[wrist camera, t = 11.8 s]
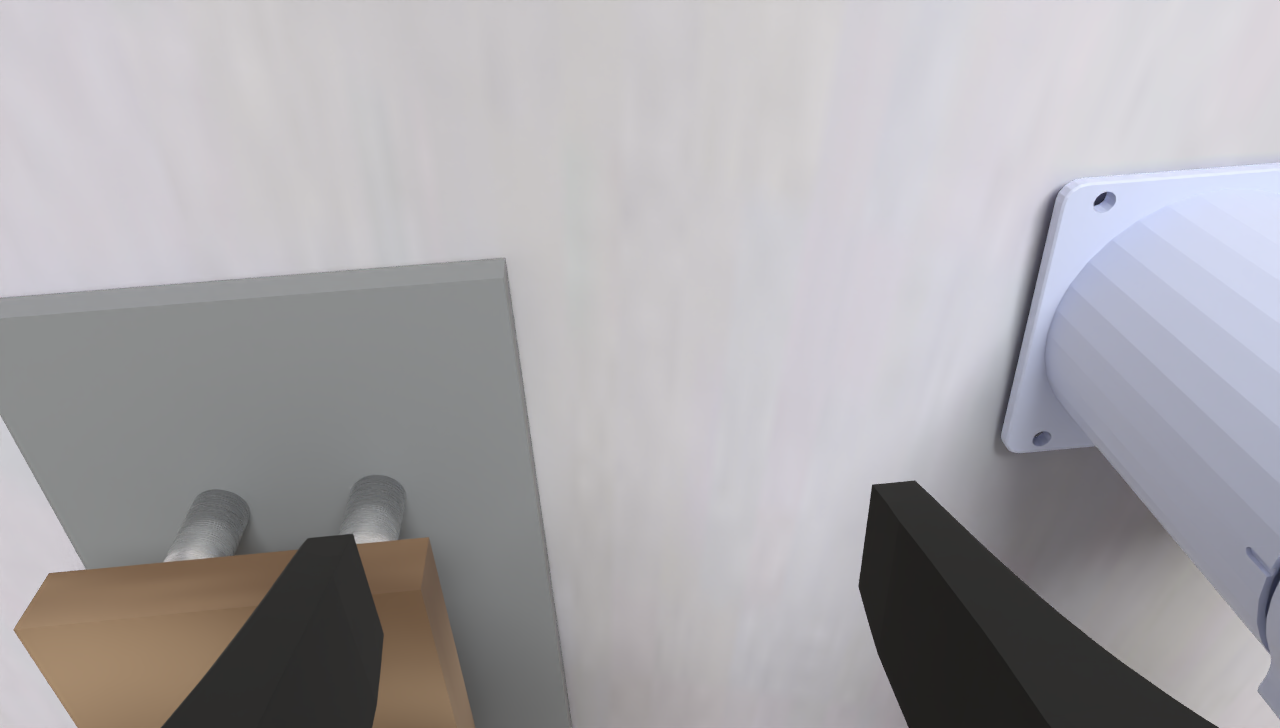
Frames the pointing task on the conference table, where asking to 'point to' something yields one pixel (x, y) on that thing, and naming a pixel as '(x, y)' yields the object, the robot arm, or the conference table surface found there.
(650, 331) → the conference table surface
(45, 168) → the conference table surface
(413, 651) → the wooden t-shaped block
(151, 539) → the peg stand
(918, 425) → the conference table surface
